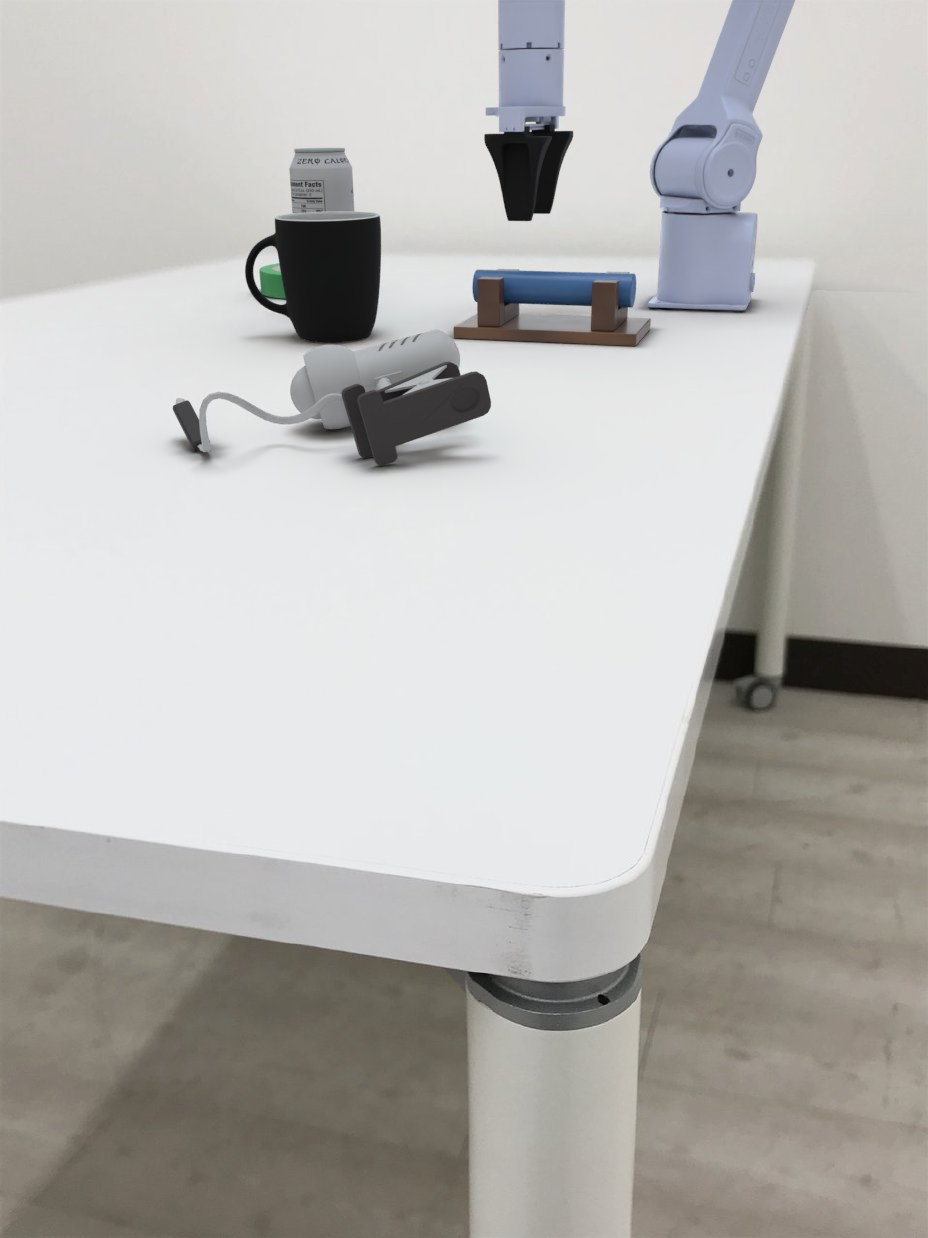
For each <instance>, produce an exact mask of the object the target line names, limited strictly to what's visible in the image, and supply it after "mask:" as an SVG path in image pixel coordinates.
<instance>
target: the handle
mask: <svg viewBox="0 0 928 1238" xmlns="http://www.w3.org/2000/svg"><path fill="white" fill-rule="evenodd" d="M483 276H485V277H504V303H513V304H519V305H543V306H544V305H546V306H547V305H548V306H571V307H573V306H574V307H575V306H576V307H577V306H578V307H591V306H592V282H594V281H595V280H619V297H618V307H628V308H629V309H630V308H631V309H632V308H633V307H634V305H635V301H636V295H637V275H636V274H635V273H632V272H629V273H606V272H595V271H557V270H556V271H554V270H553V271H551V270H546V271H545V270H520V269H519V270H497V269H481V268H480V269H476V270H475V271H474V274H473V276H472V277H473V278H472V285H471V286H472V297H473V300H474V302H475V303H477V279H478V278H480V277H483Z"/></svg>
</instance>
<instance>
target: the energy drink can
mask: <svg viewBox="0 0 928 1238" xmlns="http://www.w3.org/2000/svg"><path fill="white" fill-rule="evenodd" d="M293 151H294V156H293V158H292V161H291V163H290V166H289V168H288V171H289V182H290V184H289V185H290V198H291V199H290V200H291V211H292V212H291V214H293V213H306V212H330V211H353V212H355V198H354V197H355V196H354V195H355V194H354V178H353V176H354V175H353V166H352V164H351V162H350V160H349V159H348V156H347V155H346V153H345V151H346V148H345V147H304V148H303V147H301V148H294V150H293Z"/></svg>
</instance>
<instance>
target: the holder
mask: <svg viewBox="0 0 928 1238" xmlns="http://www.w3.org/2000/svg"><path fill="white" fill-rule="evenodd" d="M496 270H520V269H519V268H498V269H496ZM605 273H630V272H629V271H606V272H605ZM618 297H619V280H595V281H594V282H592V306H590V307H591V308H590V309H591V310H590V315H572V314H571V315H569V314H545V313H543V314H542V313H541V314H539V313H520V304H513V303H504V277H485V276H483V277H480V278H478V279H477V302H476V303H477V304H476V305H477V306H476V307H477V308H476V309H477V310H476V311H477V313H476V314H474V315H472V316H471V317H469V318H467V319H465V320H464V321H463V320H462V321H461V322H459V323H458V324H456V325H455V326H453V338H454V339H463V340H464V339H465V340H485V341H487V340H488V341H511V342H532V343H533V342H535V343H555V344H560V343H561V344H575V345H576V344H578V345H579V344H581V345H602V346H603V345H604V346H623V347H628V346H629V347H636V346H637V345H638V344H639V343H640V342H641V341H642V339H643V338H644V337H645V336H646V335H647V334H648V332H650V330H651V323H652V319H651V318H649V317H628V314H629V313H628V312H629V307H618Z"/></svg>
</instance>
